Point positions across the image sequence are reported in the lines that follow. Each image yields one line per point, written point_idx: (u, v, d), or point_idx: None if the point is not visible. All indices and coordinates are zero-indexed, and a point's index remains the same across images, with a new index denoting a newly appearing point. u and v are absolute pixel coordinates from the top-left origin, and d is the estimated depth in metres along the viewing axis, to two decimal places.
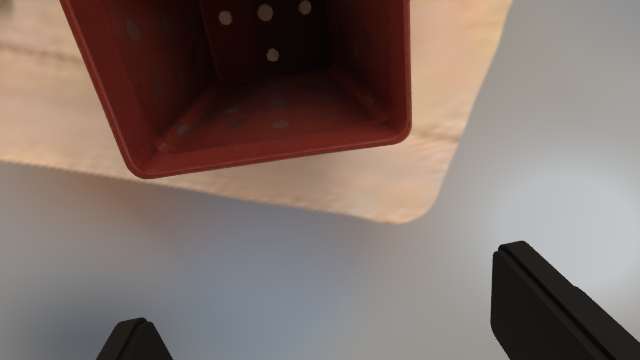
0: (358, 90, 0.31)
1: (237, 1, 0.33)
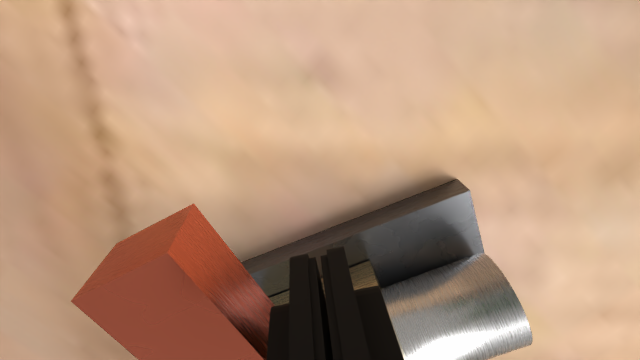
0: None
1: None
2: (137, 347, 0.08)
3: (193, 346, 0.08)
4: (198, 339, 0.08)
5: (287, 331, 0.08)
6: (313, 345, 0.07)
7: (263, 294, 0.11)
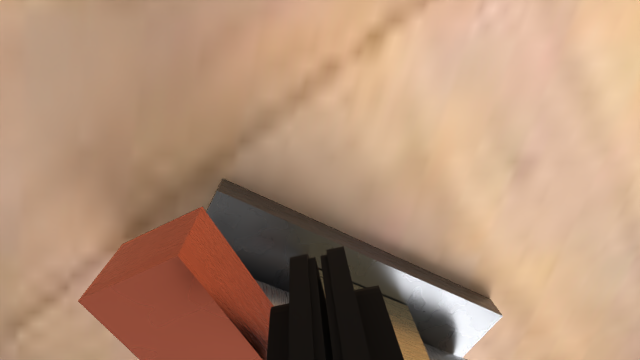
0: None
1: None
2: (141, 349, 0.08)
3: (197, 350, 0.08)
4: (203, 343, 0.08)
5: (287, 331, 0.08)
6: (313, 345, 0.07)
7: (266, 299, 0.11)
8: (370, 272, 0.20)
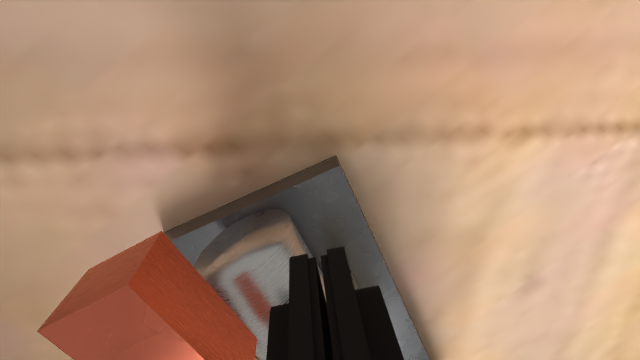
0: None
1: None
2: None
3: None
4: None
5: (286, 331, 0.08)
6: (313, 345, 0.07)
7: (234, 316, 0.11)
8: (387, 304, 0.21)
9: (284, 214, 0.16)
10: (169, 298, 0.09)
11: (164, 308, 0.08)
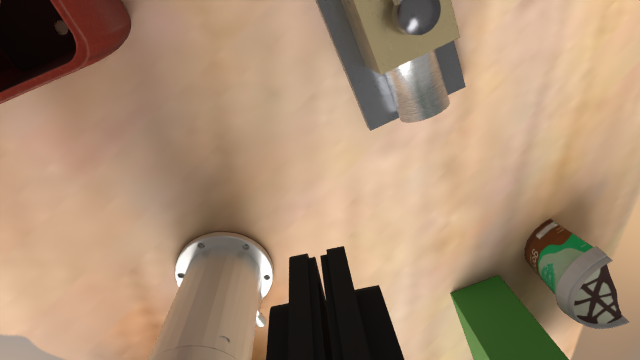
0: None
1: None
2: None
3: None
4: None
5: (287, 331, 0.08)
6: (313, 345, 0.07)
7: None
8: None
9: None
10: None
11: None
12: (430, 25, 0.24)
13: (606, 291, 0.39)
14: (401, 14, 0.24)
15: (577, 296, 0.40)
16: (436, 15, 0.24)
